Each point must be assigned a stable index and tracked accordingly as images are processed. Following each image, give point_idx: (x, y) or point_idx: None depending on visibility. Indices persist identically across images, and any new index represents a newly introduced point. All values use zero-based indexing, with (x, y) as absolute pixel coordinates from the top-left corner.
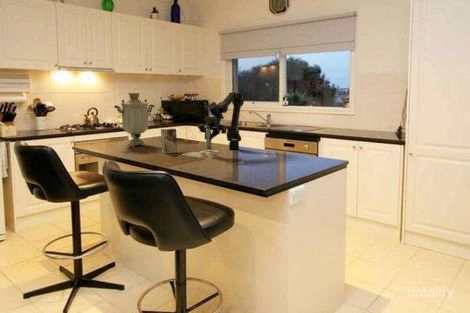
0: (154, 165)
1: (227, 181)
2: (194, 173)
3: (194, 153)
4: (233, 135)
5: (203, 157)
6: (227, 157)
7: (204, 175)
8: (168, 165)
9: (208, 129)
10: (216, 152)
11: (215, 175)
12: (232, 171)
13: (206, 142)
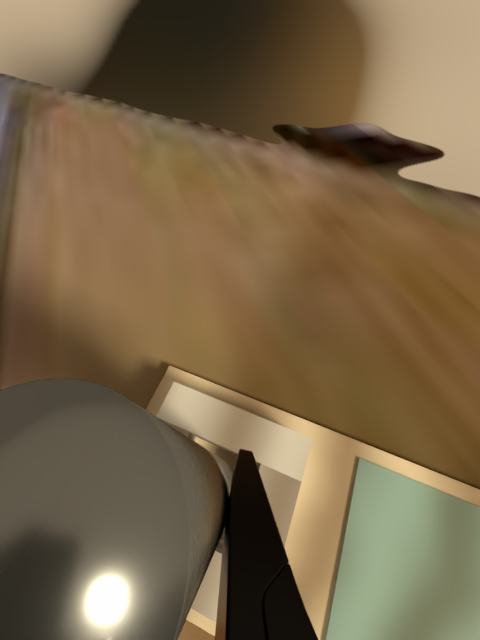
0: (426, 186)
1: (45, 87)
2: (171, 125)
3: (454, 622)
4: None
5: (243, 402)
6: None
7: (127, 115)
8: (358, 198)
9: (21, 394)
10: None
11: (88, 121)
12: (21, 168)
13: (223, 463)
